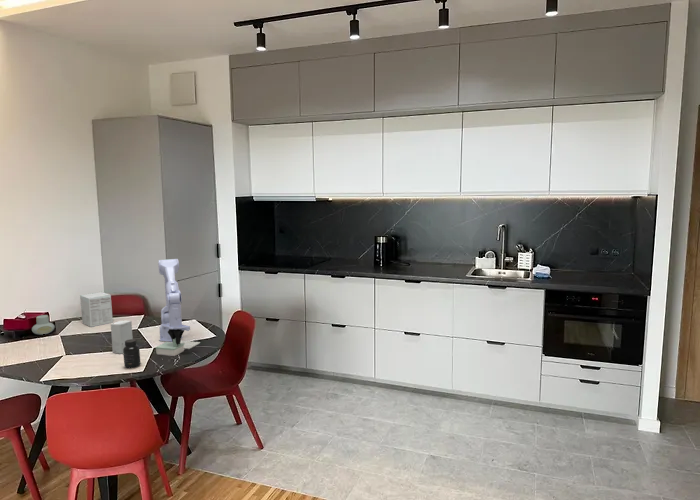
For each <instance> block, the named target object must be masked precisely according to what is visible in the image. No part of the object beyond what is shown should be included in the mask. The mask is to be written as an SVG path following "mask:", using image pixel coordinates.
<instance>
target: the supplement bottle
mask: <svg viewBox="0 0 700 500" xmlns="http://www.w3.org/2000/svg"><path fill="white" fill-rule="evenodd" d="M122 355H123V365H124V368H126V369H135V368H138V367H140V365H141V352H140V346H139V345H138V343H137V339H134V338H133V339H130V340H126V341H125V347H124V348H123V354H122Z"/></svg>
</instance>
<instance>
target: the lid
mask: <svg viewBox="0 0 700 500" xmlns="http://www.w3.org/2000/svg"><path fill="white" fill-rule="evenodd" d="M183 345H184V343H180V344H178V345H177V344H176V338H174V339H173V342H169V341H164V342H163V343H161V344H159V345H157V346H155V350H156V349H164V350H176V349H178V348H180V347H182V346H183Z"/></svg>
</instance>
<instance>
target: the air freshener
mask: <svg viewBox="0 0 700 500" xmlns="http://www.w3.org/2000/svg"><path fill="white" fill-rule="evenodd" d="M35 318H36V320H35V321H36V324H34V325H33V326H32V327H31V331H32V333H33V334H34V335H40V336H41V335H42V336H44V335H43V334H45V335H47V334H48V335H49V334H51V333H52V332H53V331H55V328H56V326H55V324H54V323H52V322H50V318H49V315H48V314H42V315H38V316H36V317H35Z"/></svg>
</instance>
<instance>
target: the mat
mask: <svg viewBox="0 0 700 500" xmlns="http://www.w3.org/2000/svg"><path fill="white" fill-rule="evenodd" d="M180 343H184V350H190V349H192V348H194V347H196V346H197V345H199V344H201V342H200V341H189V340H188V341H187V340H181V342H180Z"/></svg>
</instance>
